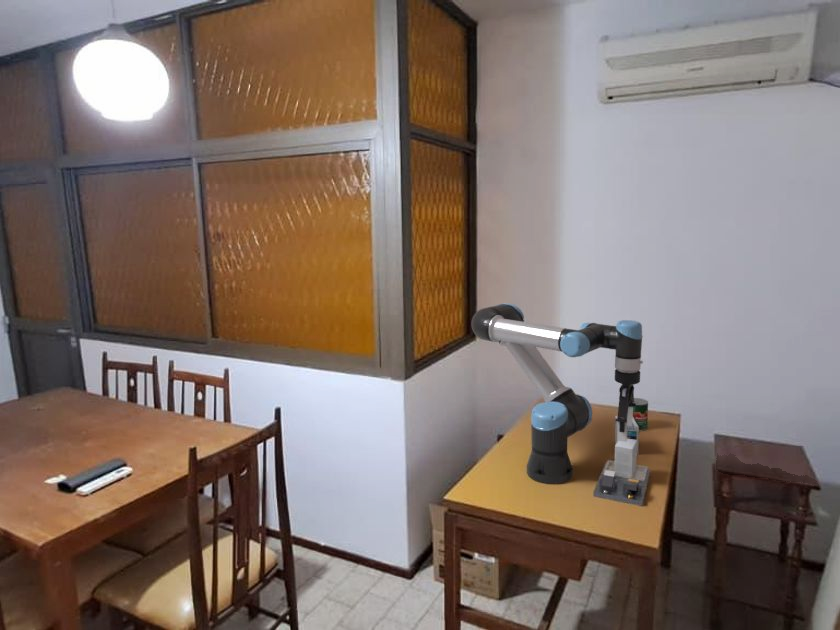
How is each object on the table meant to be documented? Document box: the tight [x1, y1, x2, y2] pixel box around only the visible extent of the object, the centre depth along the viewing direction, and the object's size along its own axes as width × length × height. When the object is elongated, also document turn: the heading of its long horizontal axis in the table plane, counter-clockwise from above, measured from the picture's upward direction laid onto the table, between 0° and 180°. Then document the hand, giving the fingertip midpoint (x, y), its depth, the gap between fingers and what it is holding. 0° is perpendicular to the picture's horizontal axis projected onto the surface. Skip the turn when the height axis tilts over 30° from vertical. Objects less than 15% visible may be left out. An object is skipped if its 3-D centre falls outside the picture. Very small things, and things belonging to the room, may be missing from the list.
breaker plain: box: [601, 470, 615, 491], centre depth 166 cm, size 7×3×2 cm, turn 152°
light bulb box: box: [614, 415, 640, 456], centre depth 195 cm, size 11×7×11 cm, turn 168°
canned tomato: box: [631, 397, 649, 432], centre depth 214 cm, size 8×8×11 cm
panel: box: [592, 459, 651, 507], centre depth 169 cm, size 22×14×4 cm, turn 152°
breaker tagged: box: [626, 479, 639, 491], centre depth 162 cm, size 7×3×2 cm, turn 151°
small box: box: [614, 439, 638, 478], centre depth 173 cm, size 8×6×10 cm
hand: (624, 432), depth 172 cm, fingers open, 13 cm apart
